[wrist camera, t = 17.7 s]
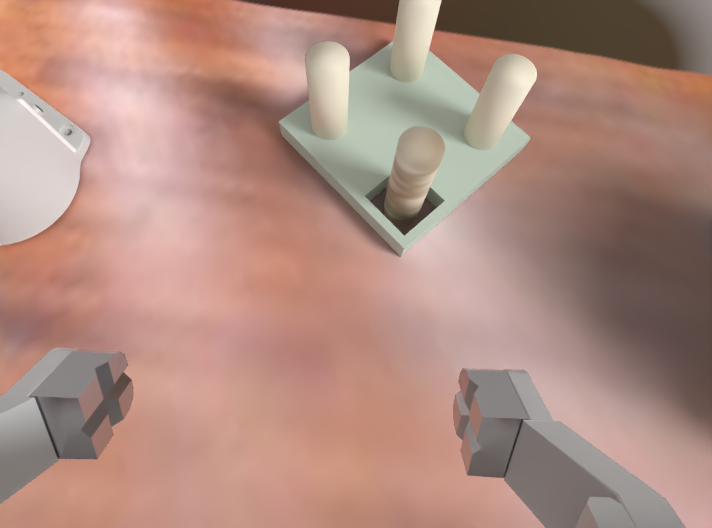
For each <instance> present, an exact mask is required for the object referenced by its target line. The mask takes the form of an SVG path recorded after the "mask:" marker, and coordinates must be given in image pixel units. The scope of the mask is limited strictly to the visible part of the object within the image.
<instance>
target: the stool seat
mask: <svg viewBox="0 0 712 528" xmlns="http://www.w3.org/2000/svg"><path fill="white" fill-rule="evenodd" d="M440 4H441V0H400V1H399V8H398V15H397V21H396V28H395V34H394V41H392V42H391V43H390V44H388V45H387V46H385V47H384V48H382V49H381V50H380V51H378V52H377V53H375V54H374V55H373V56H371V57H370V58H368V59H367V60H365V61H364V62H363V63H361V64H360V65H358V66H357V67H355V68H354V69H353V70H351V71H350V72H349V68H350V57H349V53H348V51H347V50H346V49H345V48H344V47H343V46H342V45H340V44H338V43H336V42H332V41H322V42H318V43H316V44H314V45H312V46H311V47H310V48H309V49H308V50H307V52H306V55H305V64H306V74H307V84H308V95H309V100H308V101H307V102H306V103H304V104H303V105H301V106H300V107H298V108H297V109H296V110H294V111H293V112H291V113H290V114H289V115H287V116H286V117H284V118H283V119H281V120H280V121H279V126H280V131H281V135H282V136H283V137H284V138H285V139H286V140H287V141H288V142H289V143H290V144H291V145H292V146H293V147H294V148H295V149H296V150H297V152H298V153H299V154H300V155H301V156H302V157H303V158H304V159H305V160H306V161H307V162H308V163H309V164H310V165H311V166H312V167H313V168H314V169H315V170H316V171H317V172H318V173H319V174H320V175H321V176H322V177H323V178H324V179H325V180H326V181H327V182H328V183H329V184H330V185H331V186H332V187H333V188H334V189H335V190H336V191H337V192H338V193H339V194H340V195H341V196H342V197H343V198H344V199H345V200H346V202H347V203H348V204H349V205H350V206H351V207H352V208H353V209H354V210H355V211H356V212H357V213H358V214H359V215H360V216H361V217H362V218H363V219H364V220H365V221H366V222H367V223H368V224H369V225H370V226H371V227H372V228H373V229H374V230H375V231H376V232H377V233H378V234H379V235H380V236H381V237H382V238H383V239H384V240H385V241H386V242H387V243H388V244H389V245H390V246H391V247H392V248H393V249H394V250H395V251H396V253H397V254H398V255H399V256H400V257H401V256H402V255H403V254H404V253H406V252H407V251H408V250H409V249H410V248H411V247H412V246H414V245H415V244H416V243H417V242H418V241H419V240H420V239H422V238H423V237H424V236H425V235H426V234H427V233H428V232H430V231H431V230H432V229H433V228H434V227H435V226H436V225H438V224H439V223H440V222H441V221H442V220H443V219H444V218H446V217H447V216H448V215H449V214H450V213H451V212H452V211H454V210H455V209H456V208H457V207H458V206H459V205H460V204H462V203H463V202H464V201H465V200H466V199H467V198H468V197H469V196H471V195H472V194H473V193H474V192H475V191H476V190H477V189H479V188H480V187H481V186H482V185H483V184H484V183H485V182H487V181H488V180H489V179H490V178H491V177H492V176H493V175H495V174H496V173H497V172H498V171H499V170H500V169H501V168H503V167H504V166H505V165H506V164H507V163H508V162H509V161H511V160H512V159H513V158H514V157H515V156H516V155H517V154H519V153H520V152H521V151H522V150H523V148H524V147H525V146H526V144H527V143H528V142H529V140H530V139H531V137H529V136H528V135H527V134H526V133H525V132H524V131H522V130H521V129H520V128H519V127H518V126H517V125H515V124H514V123H513V122H512V121H511V120H512V118H513V116H514V115H515V113H516V112H517V110H518V108H519V107H520V105H521V103H522V102H523V100H524V98H525V97H526V95H527V94H528V92H529V90H530V89H531V87H532V85H533V84H534V82H535V80H536V78H537V71H536V68H535V66H534V65H533V63H532V62H531V61H530V60H528V59H527V58H525V57H523V56H521V55H517V54H506V55H503V56H501V57H499V58H498V59H497V60H496V61H495V63H494V65H493V67H492V69H491V71H490V74H489V76H488V78H487V80H486V82H485V84H484V87H483V89H482V91H481V93H480V94H479V93H478V92H477V91H476V90H475V89H473V88H472V87H471V86H470V85H469V84H468V83H466V82H465V81H464V80H463V79H462V78H461V77H460V76H458V75H457V74H456V73H455V72H454V71H453V70H451V69H450V68H449V67H448V66H447V65H446V64H444V63H443V62H442V61H441V60H440V59H439V58H437V57H436V56H435V55H434V54H433V53H432V52H430V51H429V47H430V43H431V39H432V35H433V31H434V28H435V24H436V20H437V16H438V12H439V8H440ZM415 126H425V127H428V128H431V129H433V130H435V131H436V132H437V133H438V134H439V135H440V136H441V137H442V139H443V141H444V143H445V153H444V156H443V158H442V160H441V163H440V165H439V167H438V170H437V172H436V174H435V177H434V179H433V181H432V184H431V186H430V188H429V191H428V193H427V195H426V198H427V199H428V200H429V201H430V202H431V203H432V204H433V205H434V206H435V207H436V209H435V210H434V211H432V212H431V213H430V214H429V215H428V216H427V217H425V218H424V219H423V220H422V221H421V222H420V223H419V224H417V225H416V226H415V227H414V228H413V229H412V230H410V231H409V232H408V233H407V234H406V235H405V236H404V235H403V234H402V233H401V232H400V231H399V230H398V229H397V228H396V227H395V226H394V225H393V224H392V223H391V222H390V221H389V220H388V219H387V218H386V217H385V216H384V215H383V214H382V213H381V212H380V211H379V210H378V209H377V208H376V207H375V206H374V205H373V204H372V203H371V202H370V200H372V199H373V198H374V197H375V196H377V195H378V194H379V193H380V192H381V191H383V190H384V189H385V188H386V187H388V183H389V179H390V174H391V170H392V166H393V161H394V157H395V153H396V148H397V144H398V140H399V137H400V136H401V134H402V133H403V132H404V131H405V130H407V129H409V128H411V127H415Z"/></svg>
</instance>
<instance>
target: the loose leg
mask: <svg viewBox="0 0 712 528" xmlns="http://www.w3.org/2000/svg"><path fill="white" fill-rule="evenodd" d="M444 153H445V143H444V141H443V139H442V137H441V136H440V135H439V134H438V133H437V132H436V131H435V130H433V129H431V128H428V127H425V126H415V127H411V128H409V129H407V130H405V131H404V132H403V133H402V134H401V136H400V137H399V140H398V144H397V148H396V153H395V157H394V161H393V166H392V170H391V174H390V179H389V183H388V188H387V192H386V196H385V201H384V205H383V211H384V214H385V216H386V218H387V219H388V220H389V221H390V222H392V223H394V224H397V225H408V224H410V223H412V222H413V221H414V220H415V219H416V218H417V216H418V214H419V212H420V210H421V207H422V205H423V203H424V200H425V198H426V195H427V193H428V191H429V188H430V186H431V184H432V181H433V179H434V177H435V174H436V172H437V170H438V167H439V165H440V163H441V160H442V158H443V156H444Z"/></svg>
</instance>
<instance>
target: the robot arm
mask: <svg viewBox="0 0 712 528" xmlns="http://www.w3.org/2000/svg"><path fill="white" fill-rule="evenodd" d="M70 133H71V134H70ZM69 134H70V135H69ZM89 145H90V136H89V135H88V134H87V133H86V132H84V131H83V130H82V129H81V128H79V127H78V126H77V125H75V124H74V123H73V122H71V121H70V120H69V119H67V118H66V117H65V116H63V115H62V114H61V113H59V112H58V111H57V110H55V109H54V108H53V107H51V106H50V105H49V104H47V103H46V102H45V101H43V100H42V99H41V98H39V97H38V96H37V95H35V94H34V93H33V92H31V91H30V90H29V89H27V88H26V87H25V86H23V85H22V84H21V83H19V82H18V81H17V80H15V79H14V78H13V77H11V76H10V75H9V74H7V73H6V72H4V71H2V70H0V246H1V245H8V244H13V243H17V242H20V241H23V240H26V239H28V238H30V237H33V236H35V235H36V234H38V233H40V232H42V231H43V230H45V229H46V228H48V227H49V226H50V225H52V224H53V223H54V222H55V221H56V220H57V219H58V218H59V217H60V216H61V215H62V214H63V213H64V212H65V210H66V209H67V208H68V206H69V205H70V203H71V202H72V200H73V198H74V196H75V194H76V191H77V188H78V184H79V179H80V166H81V161H82V159H83V157H84V155H85V153H86V151H87V149H88V147H89ZM127 366H128V363H127V360H126V356H125V354H124V353H122V352H119V351H105V350H91V349H71V348H56V349H52V350H50V351H49V352H48V353H47V354H46V355H45V356H44V357H43V358H42V359H41V360H40V361H39V362H38V363H37V364H36V365H35V366H34V367H33V368H31V369H30V370H29V371H28V372H27V373H26V374H25V375H24V376H23V377H22V378H21V379H20V380H19V381H18V382H17V383H16V384H15V385H14V386H13V387H11V388H10V389H9V390H8V391H7V392H6V393H5V394H4V395H3V396H0V504H1V503H3V502H4V501H5V500H7V499H8V498H9V497H11V496H12V495H13V494H15V493H16V492H17V491H19V490H20V489H21V488H23V487H24V486H25V485H27V484H28V483H29V482H31V481H32V480H33V479H35V478H36V477H37V476H39V475H40V474H41V473H43V472H44V471H46V470H47V469H48V468H50V467H51V466H52V465H54V464H55V463H56V462H58V459H98V458H99V456H100V455H101V453H102V452H103V450H104V449H105V447H106V446H107V444H108V443H109V441H110V440H111V438H112V436H113V430H112V426H114V425H115V424H117V423H119V422H120V421H122V420H123V419H124V418H125V416H126V414H127V413H128V411H129V410H130V406H131V403H132V400H133V384H132V380H131V379H130V378H129V377H128V376H127V375H126V374H125V373H124V370H125V369H126V368H127ZM458 381H459V385H460V388H461V391H459V392H458V393H457V394H456V395H455V400H454V406H453V418H454V426H455V430H456V434H457V435H458V436H459V437H460V438H461V439H462V440H463V442H462V446H461V454H462V458H463V461H464V465H465V469H466V473H467V475H468V476H482V477H496V478H504V480H505V482H506V483H507V484H508V485H509V486H510V487H511V488H512V490H513V491H514V492H515V493H516V494H517V495H518V496H519V498H520V499H521V500H522V501H523V502H524V503H525V504H526V506H527V507H528V508H529V509H530V510H531V511H532V512H533V514H534V515H535V516H536V517H537V518H538V519H539V520H540V522H541V523H542V524H543V525H544V526H545V527H546V528H686V527H685V526H684V524H683V523H682V521H681V520H680V518H679V517H678V516H677V514H676V513H675V511H674V510H673V508H672V507H671V505H670V504H669V502H668V501H667V500H666V498H664V497H663V496H662V495H660V494H659V493H658V492H656V491H655V490H653V489H652V488H651V487H649V486H648V485H647V484H645V483H644V482H642V481H641V480H640V479H638V478H637V477H636V476H634V475H633V474H631V473H630V472H629V471H627V470H626V469H625V468H623V467H622V466H621V465H619V464H618V463H616V462H615V461H614V460H612V459H611V458H610V457H608V456H607V455H605V454H604V453H603V452H601V451H600V450H599V449H597V448H596V447H594V446H593V445H592V444H590V443H589V442H588V441H586V440H585V439H584V438H582V437H581V436H579V435H578V434H577V433H575V432H574V431H573V430H571V429H570V428H568V427H567V426H566V425H564V424H563V423H562V422H559V421H554V420H553V418H552V416H551V415H550V413H549V411H548V409H547V407H546V405H545V404H544V402H543V400H542V398H541V396H540V394H539V392H538V391H537V389H536V387H535V385H534V383H533V381H532V379H531V378H530V376H529V374H528V372H526V371H525V370H492V369H469V368H463V369H462V370H461V372H460V376H459V380H458Z"/></svg>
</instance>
